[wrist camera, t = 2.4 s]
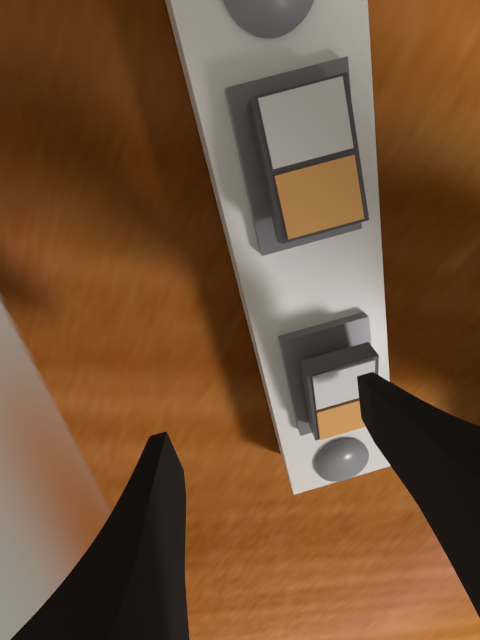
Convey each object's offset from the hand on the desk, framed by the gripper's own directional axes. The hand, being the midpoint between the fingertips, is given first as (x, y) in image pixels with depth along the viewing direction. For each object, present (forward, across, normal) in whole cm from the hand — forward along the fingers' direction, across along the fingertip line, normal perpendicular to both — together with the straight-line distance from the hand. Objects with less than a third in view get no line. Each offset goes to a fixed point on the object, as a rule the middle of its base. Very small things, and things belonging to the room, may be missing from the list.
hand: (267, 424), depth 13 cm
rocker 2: (+3, -4, +2) cm, 5 cm away
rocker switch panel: (+7, -4, -3) cm, 8 cm away
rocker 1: (+3, -4, -8) cm, 9 cm away
